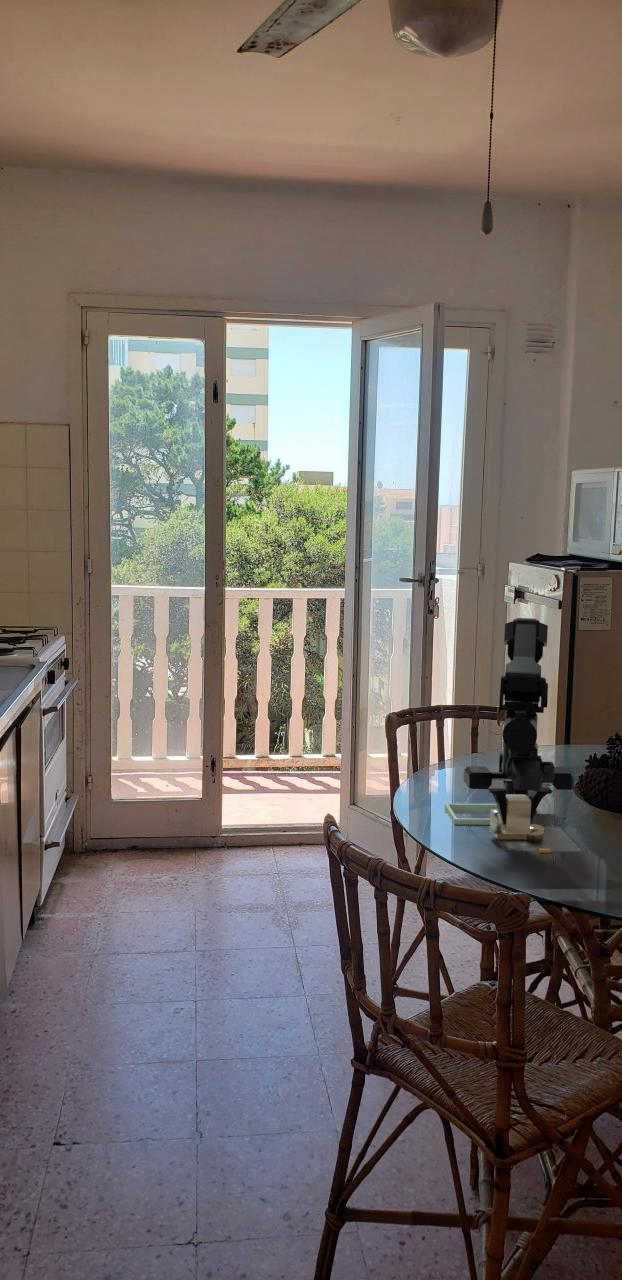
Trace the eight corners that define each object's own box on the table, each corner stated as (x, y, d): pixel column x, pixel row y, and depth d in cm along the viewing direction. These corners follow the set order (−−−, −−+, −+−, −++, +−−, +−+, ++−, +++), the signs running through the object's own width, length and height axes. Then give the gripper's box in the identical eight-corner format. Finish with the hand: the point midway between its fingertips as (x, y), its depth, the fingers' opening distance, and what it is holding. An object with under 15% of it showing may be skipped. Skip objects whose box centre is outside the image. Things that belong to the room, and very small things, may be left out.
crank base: (487, 834, 190) (487, 823, 190) (559, 834, 191) (559, 824, 190) (505, 860, 175) (506, 849, 175) (583, 861, 176) (583, 850, 176)
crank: (540, 834, 185) (541, 808, 184) (545, 840, 181) (547, 814, 181) (487, 834, 184) (488, 808, 184) (491, 840, 181) (492, 814, 180)
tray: (444, 815, 201) (445, 803, 201) (504, 815, 202) (505, 803, 201) (454, 831, 191) (454, 819, 191) (517, 832, 191) (518, 819, 191)
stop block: (502, 826, 180) (503, 794, 179) (523, 826, 180) (525, 794, 179) (507, 833, 176) (508, 800, 175) (529, 833, 176) (531, 800, 175)
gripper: (477, 749, 167) (473, 838, 169) (586, 750, 168) (581, 839, 170) (464, 735, 178) (461, 818, 180) (566, 736, 179) (562, 819, 181)
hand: (515, 824), depth 178 cm, fingers closed on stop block, 4 cm apart
